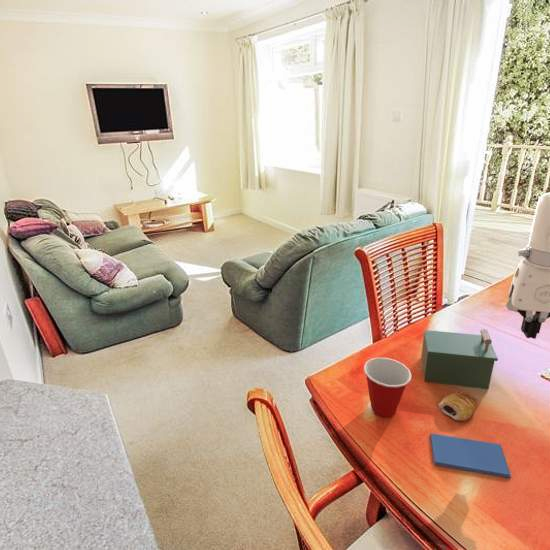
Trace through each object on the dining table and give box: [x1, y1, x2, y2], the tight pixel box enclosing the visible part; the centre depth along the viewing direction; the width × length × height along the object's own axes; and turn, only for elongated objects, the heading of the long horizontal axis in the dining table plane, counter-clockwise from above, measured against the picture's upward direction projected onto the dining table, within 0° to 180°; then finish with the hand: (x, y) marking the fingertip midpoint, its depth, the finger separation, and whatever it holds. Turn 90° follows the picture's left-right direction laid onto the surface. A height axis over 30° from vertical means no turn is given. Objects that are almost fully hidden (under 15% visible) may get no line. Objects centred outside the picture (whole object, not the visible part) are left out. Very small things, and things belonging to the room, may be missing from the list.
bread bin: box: [420, 333, 495, 390], centre depth 101 cm, size 16×11×9 cm
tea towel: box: [430, 433, 512, 479], centre depth 79 cm, size 14×8×1 cm, turn 74°
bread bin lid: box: [423, 328, 498, 362], centre depth 99 cm, size 16×11×4 cm, turn 75°
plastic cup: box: [363, 357, 412, 419], centre depth 90 cm, size 11×11×12 cm
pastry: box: [437, 391, 478, 422], centre depth 90 cm, size 9×7×4 cm
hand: (528, 334), depth 81 cm, fingers closed
